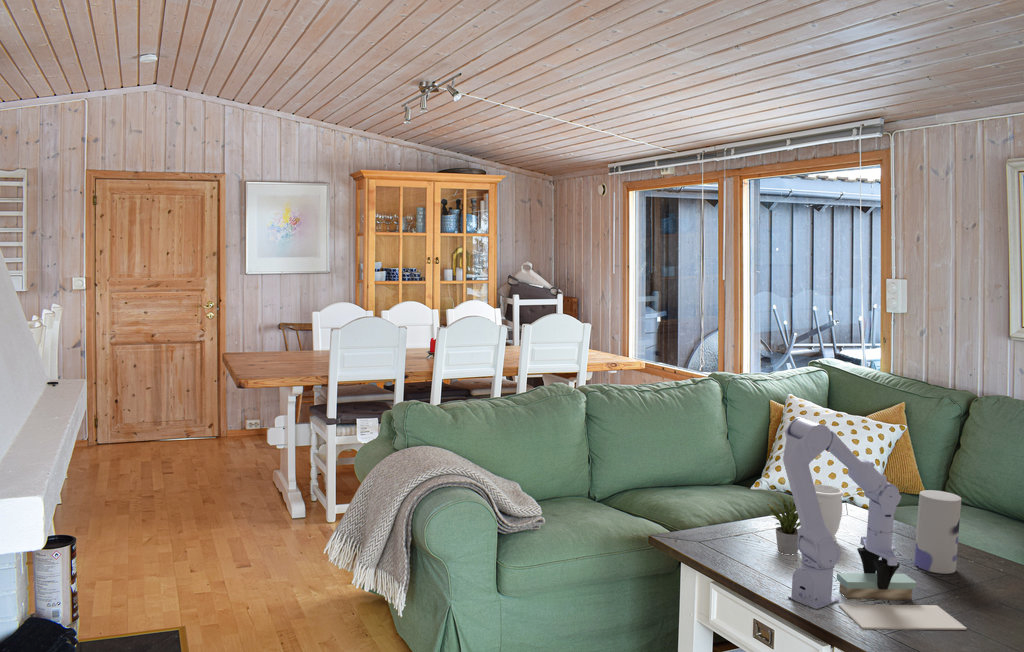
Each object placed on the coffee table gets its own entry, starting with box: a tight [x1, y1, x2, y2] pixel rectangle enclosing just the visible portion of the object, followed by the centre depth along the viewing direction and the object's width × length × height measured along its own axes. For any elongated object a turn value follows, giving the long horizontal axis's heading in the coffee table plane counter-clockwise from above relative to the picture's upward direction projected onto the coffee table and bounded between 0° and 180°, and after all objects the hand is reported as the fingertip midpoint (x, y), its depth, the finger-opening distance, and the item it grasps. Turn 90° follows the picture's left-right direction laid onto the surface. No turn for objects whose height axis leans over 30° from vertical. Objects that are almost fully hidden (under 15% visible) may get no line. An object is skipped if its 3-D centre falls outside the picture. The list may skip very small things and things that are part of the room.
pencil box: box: [839, 582, 913, 601], centre depth 203 cm, size 16×4×4 cm, turn 93°
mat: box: [838, 603, 968, 631], centre depth 191 cm, size 24×12×1 cm, turn 93°
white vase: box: [814, 484, 844, 543], centre depth 243 cm, size 11×10×15 cm
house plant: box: [767, 494, 801, 556], centre depth 231 cm, size 14×14×16 cm
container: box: [914, 489, 962, 574], centre depth 222 cm, size 10×10×20 cm
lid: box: [836, 572, 918, 590], centre depth 202 cm, size 17×6×2 cm, turn 93°
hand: (876, 583), depth 202 cm, fingers open, 6 cm apart
